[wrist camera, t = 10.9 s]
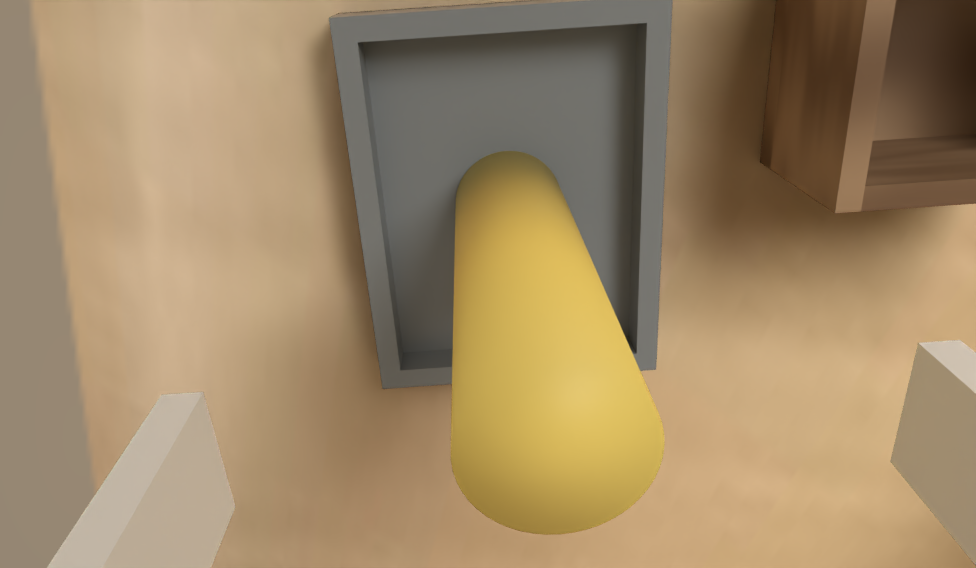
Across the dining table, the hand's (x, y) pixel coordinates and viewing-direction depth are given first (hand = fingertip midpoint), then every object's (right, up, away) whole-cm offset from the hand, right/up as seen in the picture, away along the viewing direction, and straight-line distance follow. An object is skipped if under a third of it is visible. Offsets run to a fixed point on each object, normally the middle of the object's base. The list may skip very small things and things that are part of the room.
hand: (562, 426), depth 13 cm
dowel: (-1, +6, +14) cm, 15 cm away
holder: (+13, +12, +12) cm, 21 cm away
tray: (-1, +6, +14) cm, 15 cm away
